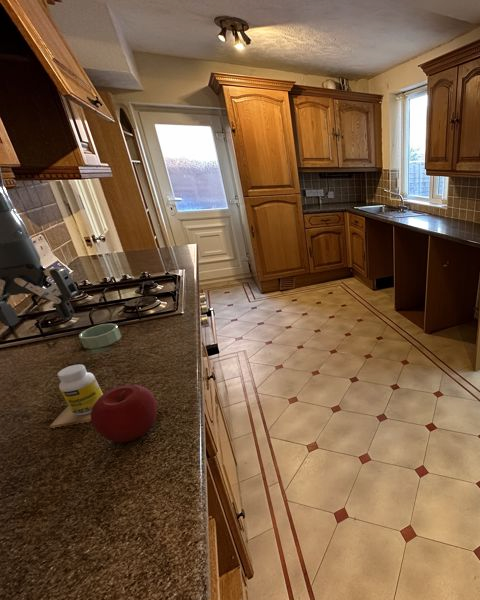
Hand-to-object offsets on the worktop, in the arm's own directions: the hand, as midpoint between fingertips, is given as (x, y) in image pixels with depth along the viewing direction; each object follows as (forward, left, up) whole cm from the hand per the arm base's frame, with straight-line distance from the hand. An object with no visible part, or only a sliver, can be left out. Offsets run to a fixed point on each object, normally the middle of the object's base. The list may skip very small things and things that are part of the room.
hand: (40, 321), depth 62 cm
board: (+2, -2, -21) cm, 21 cm away
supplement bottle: (+2, -2, -21) cm, 21 cm away
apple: (+14, -12, -21) cm, 28 cm away
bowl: (-9, +28, -21) cm, 37 cm away
